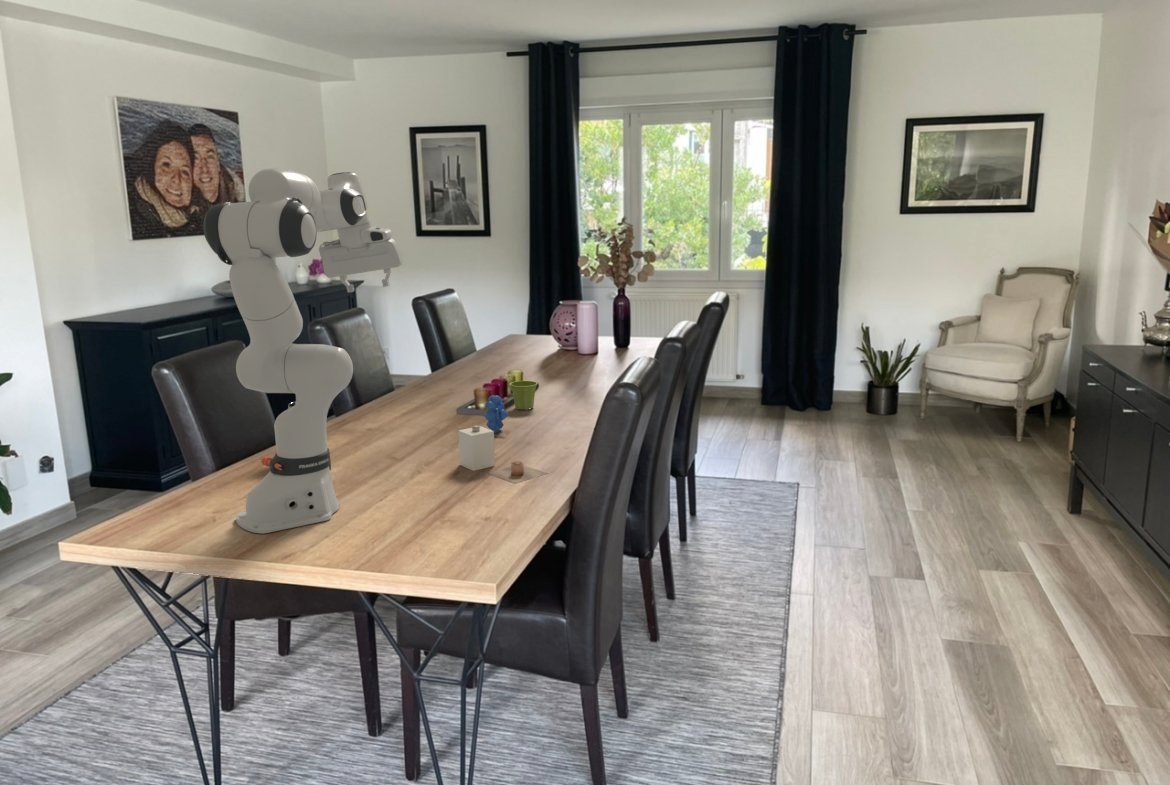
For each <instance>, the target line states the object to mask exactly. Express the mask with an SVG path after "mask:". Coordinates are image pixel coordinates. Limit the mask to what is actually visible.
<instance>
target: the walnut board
mask: <svg viewBox="0 0 1170 785" xmlns="http://www.w3.org/2000/svg"><path fill="white" fill-rule="evenodd" d="M547 474H549V473H548V472H545V471H543V470H542V471H541V470H539V469H537V468H536V469H535V468H533V467H530V466H527V465H525V464H524V474H523V475H518V476H516V475H512V474H511V466H509V467H505V468H502V469H498V470H495V471H491V472H488V473H487V475H489V476H492V477H496V478H498V479H500V480H503V481H506V482H508V483H511V484H518V483H523V482H524V481H529V480H532V479H535V478H537V477H541V476H544V475H547Z"/></svg>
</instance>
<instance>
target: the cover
mask: <svg viewBox="0 0 1170 785" xmlns="http://www.w3.org/2000/svg"><path fill="white" fill-rule="evenodd" d="M457 432H458V433H457V434H458V446H459V447H458V451H459V453H458V454H459V465H460V466H462V467H464V468H466V469H468V470H470V471H473V472H474V471H477V470H483V469H487V468H491V467H495V466H496V457H495V456H496V455H495V454H496V452H495V450H496V449H495V433H494V431H492V430H491V429H489V428H488V427H487V428H486V427H485V426H482V425H477V424H475V425H472V426H471V427H469V428H465V429H459V430H458V431H457Z"/></svg>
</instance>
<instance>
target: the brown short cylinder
mask: <svg viewBox="0 0 1170 785" xmlns="http://www.w3.org/2000/svg"><path fill="white" fill-rule="evenodd" d="M524 465H525V464H524V462H523V461H522V460H515V461H511V462H510V467H511V474H512V475H516V476H518V475H523V474H524Z"/></svg>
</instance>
